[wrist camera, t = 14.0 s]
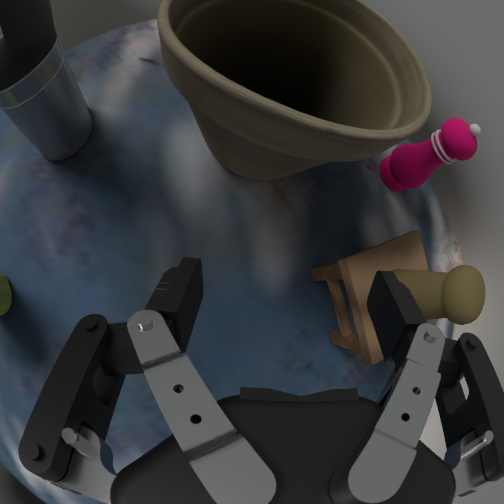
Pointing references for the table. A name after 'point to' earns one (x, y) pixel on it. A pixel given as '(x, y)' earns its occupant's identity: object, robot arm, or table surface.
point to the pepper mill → (429, 155)
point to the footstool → (367, 289)
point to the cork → (446, 292)
